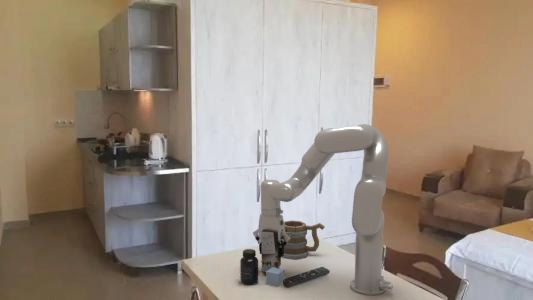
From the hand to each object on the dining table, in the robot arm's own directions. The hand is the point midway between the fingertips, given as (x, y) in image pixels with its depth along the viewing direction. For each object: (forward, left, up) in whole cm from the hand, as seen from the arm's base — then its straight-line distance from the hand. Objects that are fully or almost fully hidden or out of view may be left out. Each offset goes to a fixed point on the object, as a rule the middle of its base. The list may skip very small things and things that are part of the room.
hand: (271, 254), depth 174 cm
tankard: (-1, -24, -8) cm, 25 cm away
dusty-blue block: (-6, +8, -7) cm, 13 cm away
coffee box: (0, 0, -6) cm, 6 cm away
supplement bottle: (+3, +12, -8) cm, 14 cm away
